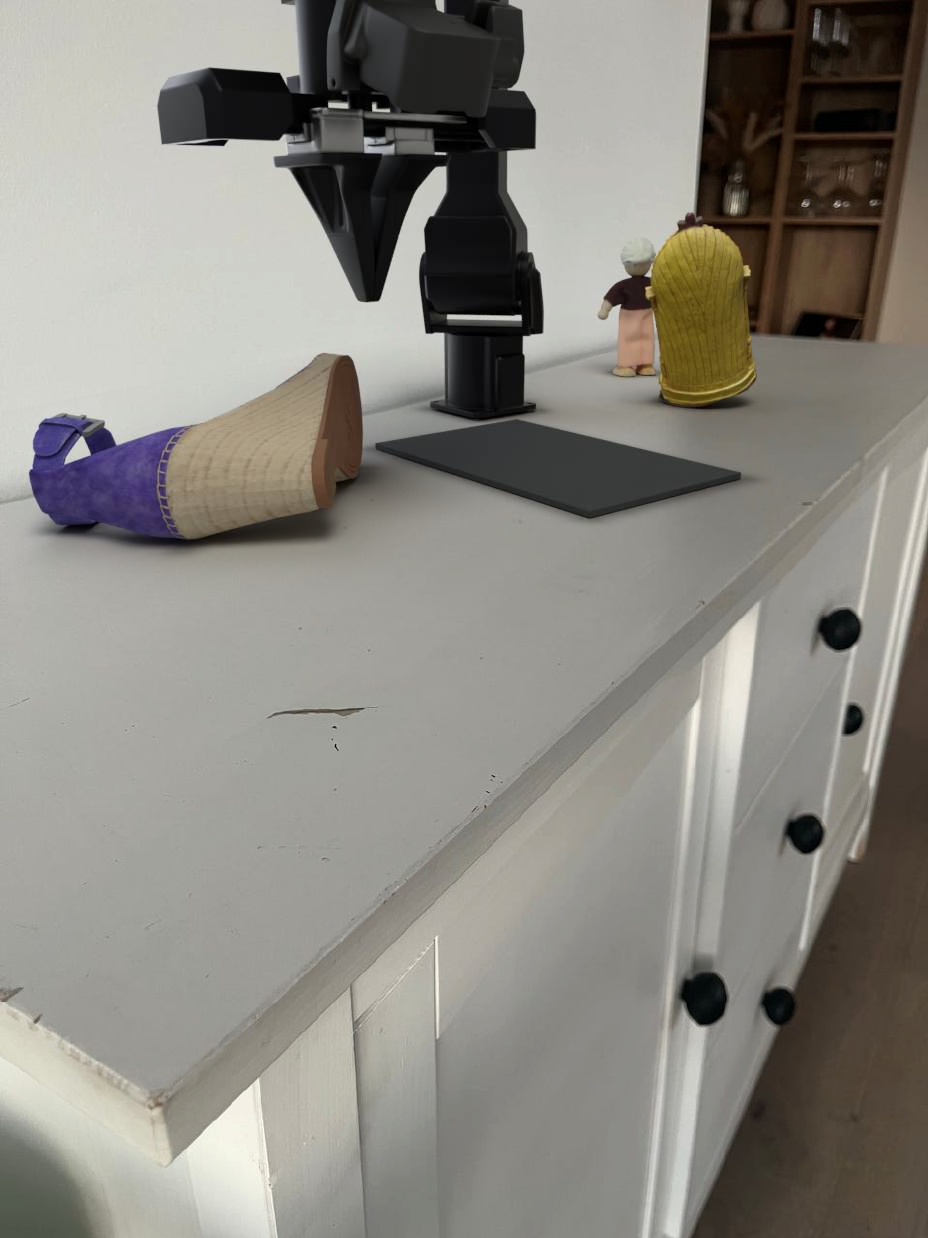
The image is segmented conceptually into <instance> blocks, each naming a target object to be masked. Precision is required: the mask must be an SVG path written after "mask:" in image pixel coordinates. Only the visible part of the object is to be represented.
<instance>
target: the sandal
mask: <svg viewBox="0 0 928 1238" xmlns="http://www.w3.org/2000/svg"><path fill="white" fill-rule="evenodd" d="M363 424H364V423H363V407H362V398H361V390H360V382H359V377H358V372H357V368H356V365H355V361H354V360H353V358H352V357H351V356H350V355H349V354H343V355H342V354H338V353H328V352H322V353H319V354H317V355H316V356H315V357H314V358H313V359H311V362H308V364H307V365H306V366H304V367H302V369H300V370H298V371H297V372H296V373H295V374H293V375H292V376H290V377H288V379H286V380H285V381H283V382H282V383H280V384H278V385H277V386H276V387H275V388H273V389H271V390H269V391H267V392H266V393H264V394H262V395H260V396H258V397H255V398H254V399H251V400H249V401H247V402H245V403H243V404H241V405H239V406H236V407H235V408H232V409H230V410H228V411H226V412H224V413H222V414H219V415H217V416H215V417H213V418H211V419H208V420H207V421H204V422H201V423H195V424H189V425H184V426H176V427H170V428H166V429H163V430H158V431H156V432H152V433H150V434H147V435H143V436H140V437H137V438H134V439H132V440H129V441H126V442H125V441H124V442H123V443H119V444H117V442H116V440H115V438H114V436H113V434H112V432H111V431H110V430H109V429H107V428H106V427H105V425H106V421H105V420H104V419H97V418H91V417H87V414H80V415H74V414H69V413H67V412H60V413H58V414H56V415H53V416H52V417H49V418H47V417H46V418H44V419H42V420H41V422H40V423H39V424H38V429H37V430H36V431H35V433H34V437H33V439H32V450H33V453H34V455H33V461H32V468H31V469H29V471H28V477H29V483H30V487H31V491H32V495H33V497H34V499H35V501H36V503H37V505H38V507H39V509H40V511H41V512H42V513H43V514H45V515H48V517H49V518H50V519H51V521H53V522H54V524H55V525H58V526H79V525H90V524H95V523H96V522H98V523H102V524H105V525H109V526H113V527H116V528H119V529H122V530H126V531H128V532H132V533H136V534H141V535H145V536H149V537H156V538H168V539H182V540H186V541H190V540H199V539H203V538H207V537H210V536H214V535H216V534H220V533H223V532H227V531H230V530H234V529H237V528H241V527H242V528H243V527H245V526H249V525H254V524H257V523H262V522H266V521H269V520H274V519H277V518H282V517H288V516H294V515H299V514H304V513H310V512H313V511H317V510H320V508H321V509H323V508H324V509H325V508H332V506H333V502H334V499H335V495H336V490H337V482H338V483H339V482H342V481H346V480H350V479H351V480H352V479H353V480H354V479H355V478H357V476H358V475H359V472H360V468H361V464H362V457H363V445H364V443H363V442H364V425H363ZM81 438H83V439H84V442H85V444H86V446H87V448H88V451H89V454H90V455H87V456H84V457H81V458H79V459H78V458H77V459H76V460H73V461H71V462H67V463H66V458H67V457H68V455H69V453H70V452H71V451H72V449H73V448H74V447H75V445H76V444H77V442H78V441H79V440H80V439H81Z"/></svg>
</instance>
